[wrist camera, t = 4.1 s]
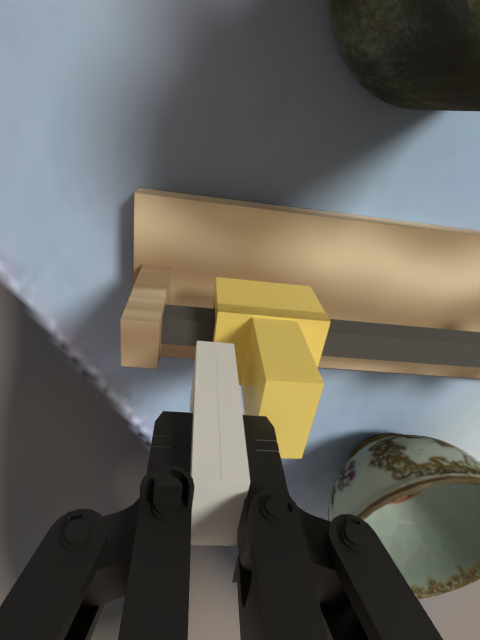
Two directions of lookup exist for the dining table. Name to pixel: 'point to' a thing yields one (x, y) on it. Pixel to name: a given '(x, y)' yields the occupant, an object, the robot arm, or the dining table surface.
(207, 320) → the rod
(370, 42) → the mug
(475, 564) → the bowl
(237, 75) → the dining table surface
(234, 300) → the sleeve
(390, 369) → the wooden slider rail
